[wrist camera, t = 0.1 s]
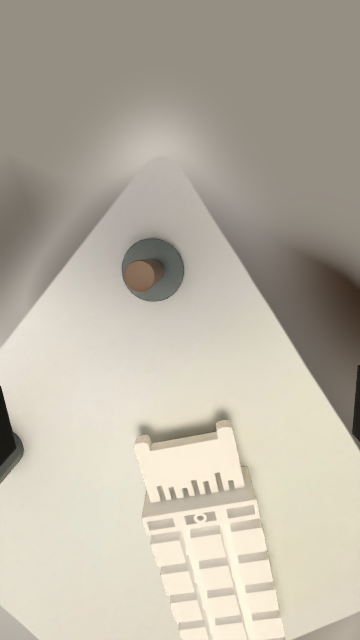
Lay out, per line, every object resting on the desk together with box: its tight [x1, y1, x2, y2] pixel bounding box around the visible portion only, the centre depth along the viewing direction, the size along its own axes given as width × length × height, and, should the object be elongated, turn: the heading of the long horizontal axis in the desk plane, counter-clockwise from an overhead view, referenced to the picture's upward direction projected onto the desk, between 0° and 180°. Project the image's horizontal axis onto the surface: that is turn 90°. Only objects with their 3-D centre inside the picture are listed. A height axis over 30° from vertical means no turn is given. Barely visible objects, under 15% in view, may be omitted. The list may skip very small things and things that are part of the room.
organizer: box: [134, 420, 285, 640], centre depth 34 cm, size 13×5×35 cm
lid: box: [122, 239, 184, 301], centre depth 25 cm, size 6×6×9 cm
